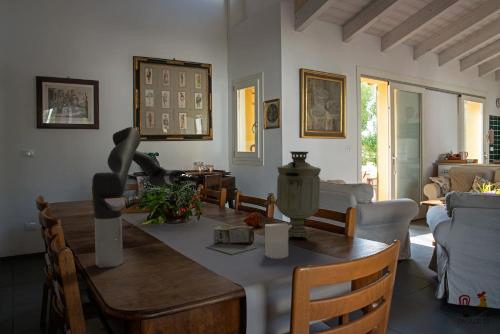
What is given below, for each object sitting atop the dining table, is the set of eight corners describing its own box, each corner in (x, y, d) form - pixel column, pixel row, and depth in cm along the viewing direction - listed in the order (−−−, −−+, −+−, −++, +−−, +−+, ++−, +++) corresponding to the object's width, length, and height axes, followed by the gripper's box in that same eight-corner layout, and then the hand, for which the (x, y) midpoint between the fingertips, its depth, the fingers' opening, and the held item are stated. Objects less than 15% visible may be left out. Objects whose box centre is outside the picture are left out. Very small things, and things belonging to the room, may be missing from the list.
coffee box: (213, 243, 168) (249, 245, 163) (213, 228, 168) (248, 230, 163) (220, 238, 177) (254, 240, 172) (220, 224, 176) (254, 226, 172)
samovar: (281, 228, 200) (281, 151, 198) (330, 233, 187) (330, 151, 185) (252, 240, 174) (251, 151, 173) (306, 247, 161) (306, 151, 159)
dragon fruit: (266, 228, 208) (245, 233, 204) (260, 217, 214) (239, 222, 210) (268, 217, 202) (247, 222, 198) (261, 206, 208) (241, 211, 204)
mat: (256, 248, 161) (256, 247, 161) (231, 254, 151) (231, 253, 151) (231, 241, 172) (231, 241, 172) (206, 247, 162) (206, 246, 162)
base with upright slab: (269, 259, 145) (269, 227, 144) (262, 253, 153) (262, 223, 153) (291, 257, 147) (291, 226, 146) (283, 251, 156) (283, 221, 155)
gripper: (163, 170, 184) (184, 171, 172) (186, 169, 194) (207, 170, 181) (163, 186, 185) (184, 188, 172) (186, 184, 194) (208, 186, 182)
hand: (196, 179), depth 177 cm, fingers closed
